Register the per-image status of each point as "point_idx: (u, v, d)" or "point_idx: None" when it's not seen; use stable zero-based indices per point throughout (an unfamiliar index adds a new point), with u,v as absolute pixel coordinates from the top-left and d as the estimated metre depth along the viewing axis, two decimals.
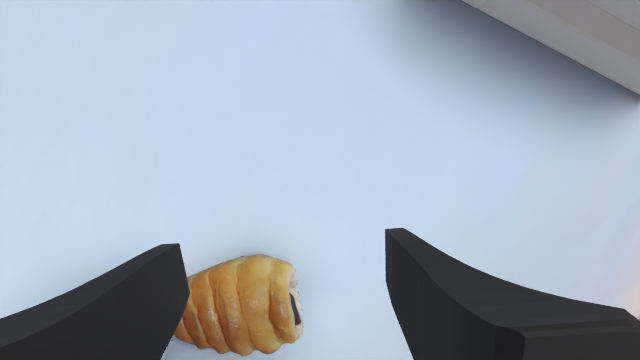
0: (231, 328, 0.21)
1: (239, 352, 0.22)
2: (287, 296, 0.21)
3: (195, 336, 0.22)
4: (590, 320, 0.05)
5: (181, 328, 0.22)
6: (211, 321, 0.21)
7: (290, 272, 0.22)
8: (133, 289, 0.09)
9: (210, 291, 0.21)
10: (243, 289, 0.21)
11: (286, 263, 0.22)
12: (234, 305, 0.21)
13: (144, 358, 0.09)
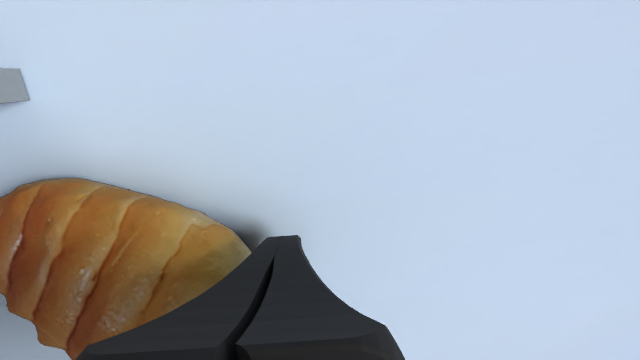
0: (100, 325, 0.10)
1: None
2: None
3: (18, 289, 0.11)
4: (324, 338, 0.05)
5: (2, 258, 0.10)
6: (71, 291, 0.10)
7: None
8: (270, 279, 0.09)
9: (113, 238, 0.10)
10: (176, 276, 0.10)
11: None
12: (138, 292, 0.10)
13: None
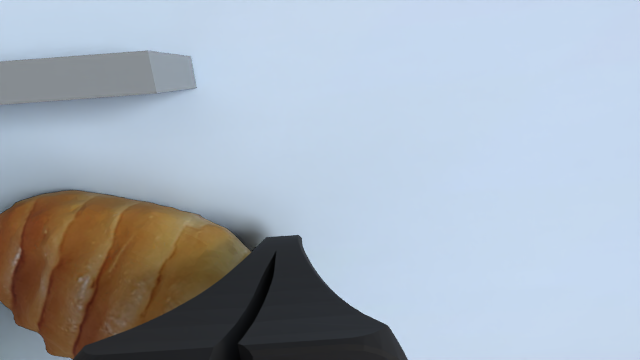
0: (103, 331, 0.10)
1: None
2: None
3: (22, 302, 0.11)
4: (327, 338, 0.05)
5: (4, 273, 0.10)
6: (72, 299, 0.10)
7: None
8: (269, 279, 0.09)
9: (108, 245, 0.10)
10: (173, 278, 0.10)
11: None
12: (137, 296, 0.10)
13: None
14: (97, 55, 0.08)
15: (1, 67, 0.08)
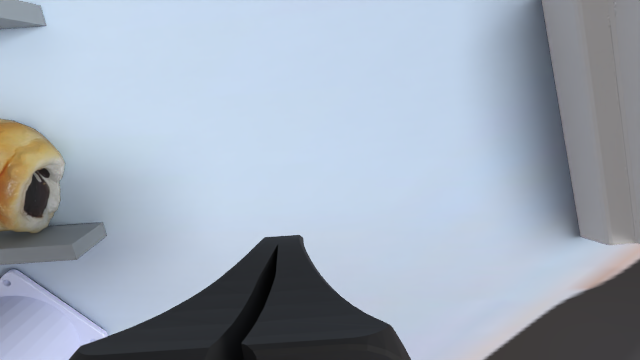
0: None
1: None
2: (24, 176, 0.18)
3: None
4: (330, 338, 0.05)
5: None
6: None
7: (49, 159, 0.20)
8: (266, 279, 0.09)
9: None
10: None
11: (52, 149, 0.20)
12: None
13: None
14: None
15: None
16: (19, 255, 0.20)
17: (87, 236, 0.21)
